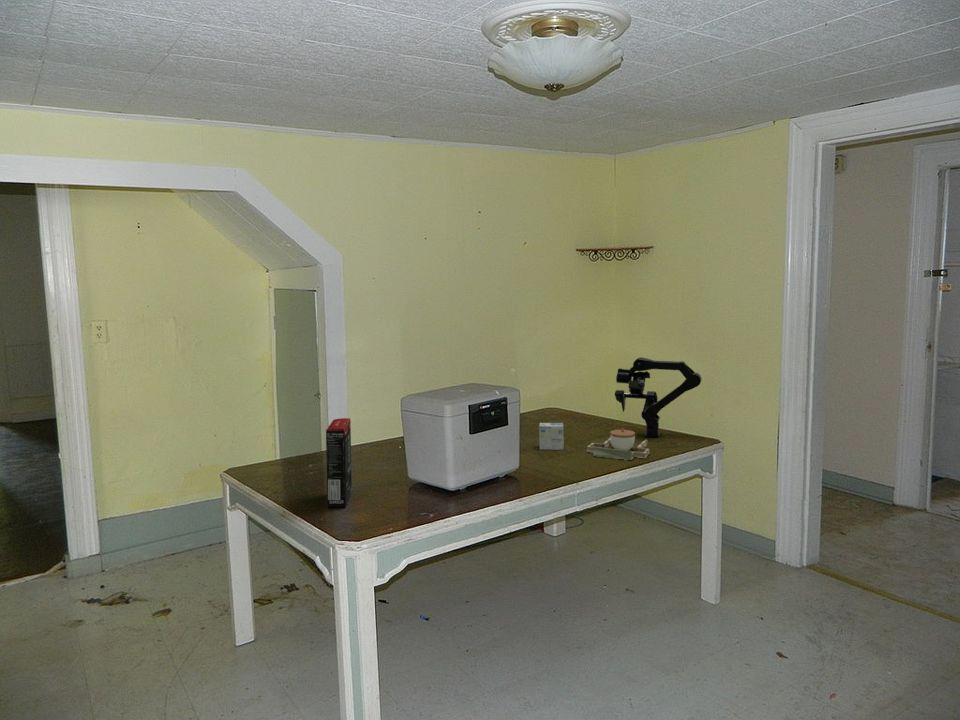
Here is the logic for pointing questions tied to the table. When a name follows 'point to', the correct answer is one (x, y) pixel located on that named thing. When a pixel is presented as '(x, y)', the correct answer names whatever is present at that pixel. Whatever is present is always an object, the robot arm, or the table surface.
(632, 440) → the lidded jar
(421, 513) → the table surface
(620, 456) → the trap lane
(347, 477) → the graphics card box
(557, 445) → the light bulb box
